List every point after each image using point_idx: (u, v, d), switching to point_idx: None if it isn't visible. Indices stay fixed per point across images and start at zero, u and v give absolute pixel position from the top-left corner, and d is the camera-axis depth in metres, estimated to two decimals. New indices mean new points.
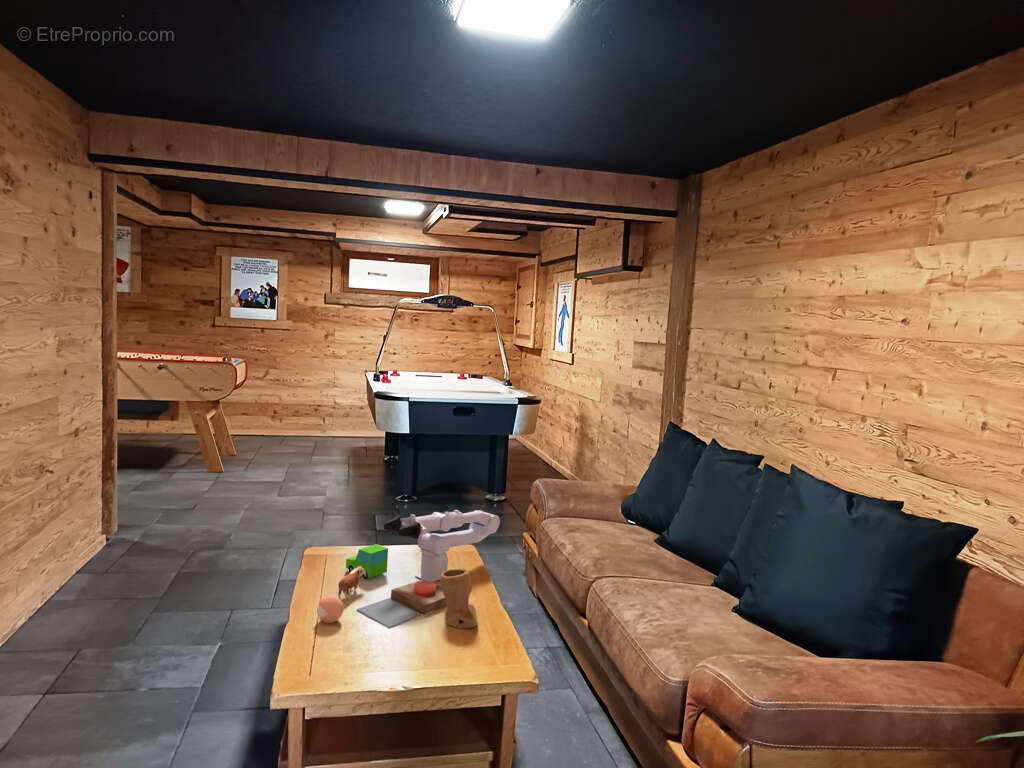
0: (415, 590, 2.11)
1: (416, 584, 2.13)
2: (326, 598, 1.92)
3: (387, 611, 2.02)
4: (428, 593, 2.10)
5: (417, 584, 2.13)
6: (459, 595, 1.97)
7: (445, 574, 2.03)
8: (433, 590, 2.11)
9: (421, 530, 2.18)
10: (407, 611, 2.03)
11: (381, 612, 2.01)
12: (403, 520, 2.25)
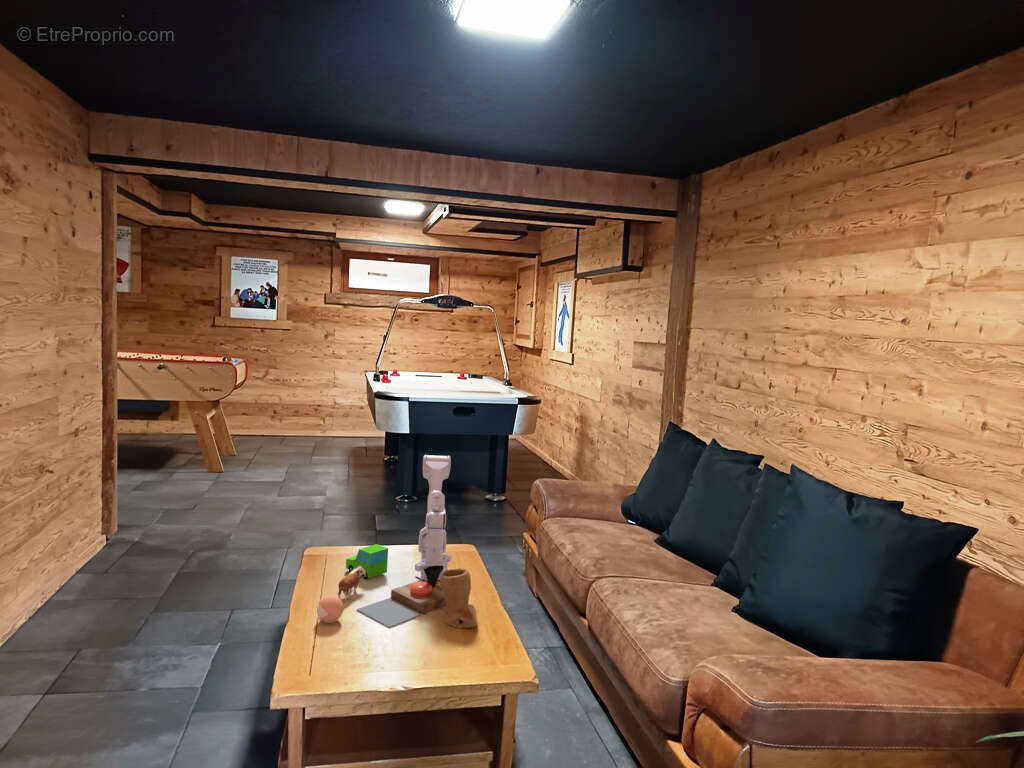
0: (411, 591, 2.10)
1: (412, 585, 2.12)
2: (326, 598, 1.92)
3: (387, 611, 2.02)
4: (424, 594, 2.09)
5: (413, 585, 2.12)
6: (459, 595, 1.97)
7: (445, 574, 2.03)
8: (429, 591, 2.10)
9: None
10: (407, 611, 2.03)
11: (381, 612, 2.01)
12: None
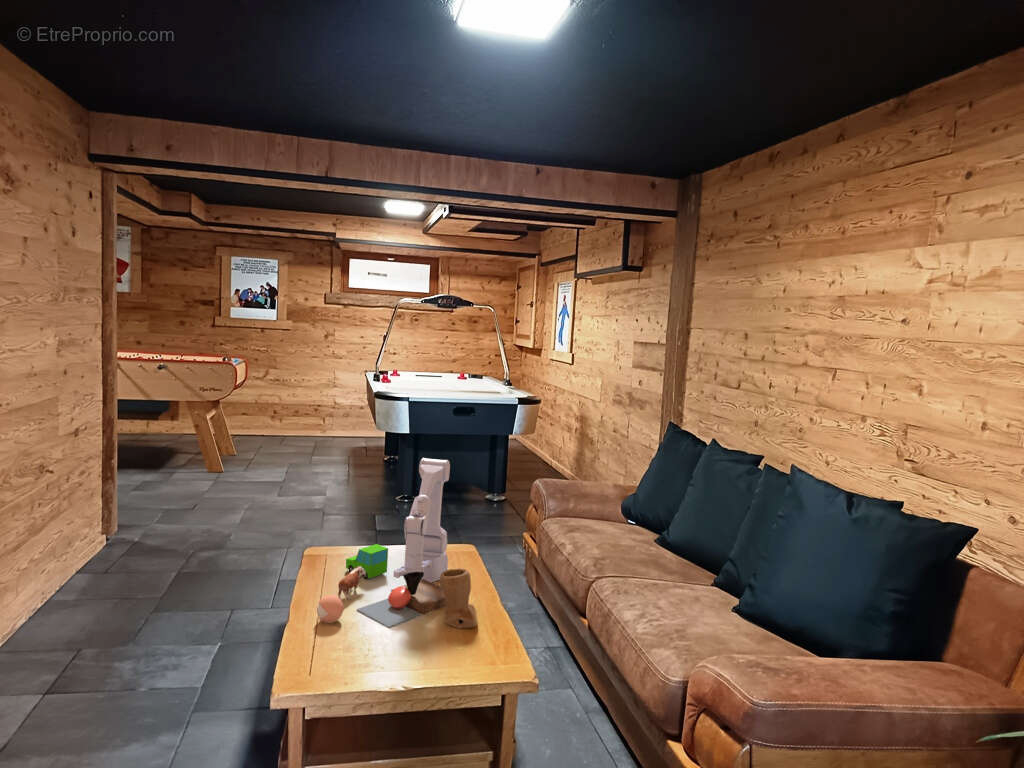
0: None
1: (390, 597, 2.06)
2: (326, 598, 1.92)
3: (387, 611, 2.02)
4: (403, 605, 2.03)
5: (391, 597, 2.06)
6: (459, 595, 1.97)
7: (445, 574, 2.03)
8: (407, 600, 2.04)
9: None
10: (407, 611, 2.03)
11: (381, 612, 2.01)
12: None
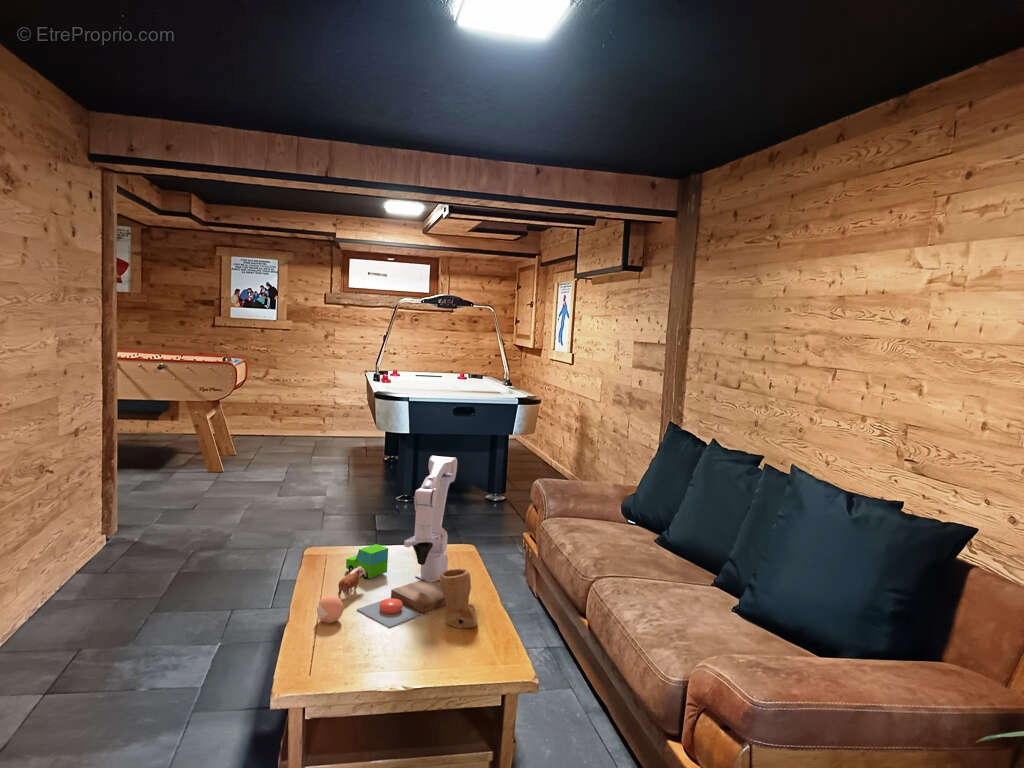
0: (380, 608, 2.02)
1: (382, 602, 2.03)
2: (326, 598, 1.92)
3: None
4: (393, 612, 2.00)
5: (383, 602, 2.03)
6: (459, 595, 1.97)
7: (445, 574, 2.03)
8: (398, 609, 2.01)
9: None
10: (407, 611, 2.03)
11: None
12: None
